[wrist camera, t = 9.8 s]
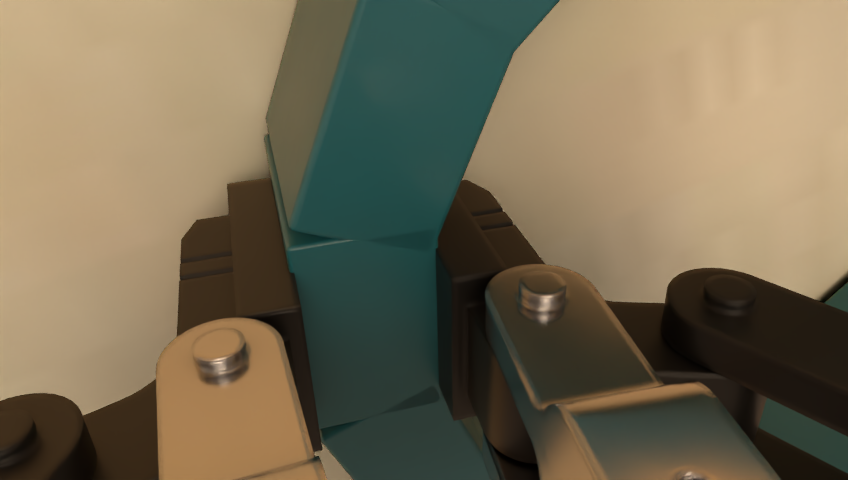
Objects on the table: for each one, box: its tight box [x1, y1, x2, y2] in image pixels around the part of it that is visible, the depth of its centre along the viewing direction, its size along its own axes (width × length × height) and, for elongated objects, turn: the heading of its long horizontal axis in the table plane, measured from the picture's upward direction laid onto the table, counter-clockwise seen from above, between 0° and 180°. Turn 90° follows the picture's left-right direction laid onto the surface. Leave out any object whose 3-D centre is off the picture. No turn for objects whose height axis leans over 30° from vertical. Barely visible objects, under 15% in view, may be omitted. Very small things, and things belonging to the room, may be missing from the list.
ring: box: [264, 0, 848, 480], centre depth 12 cm, size 16×16×4 cm
